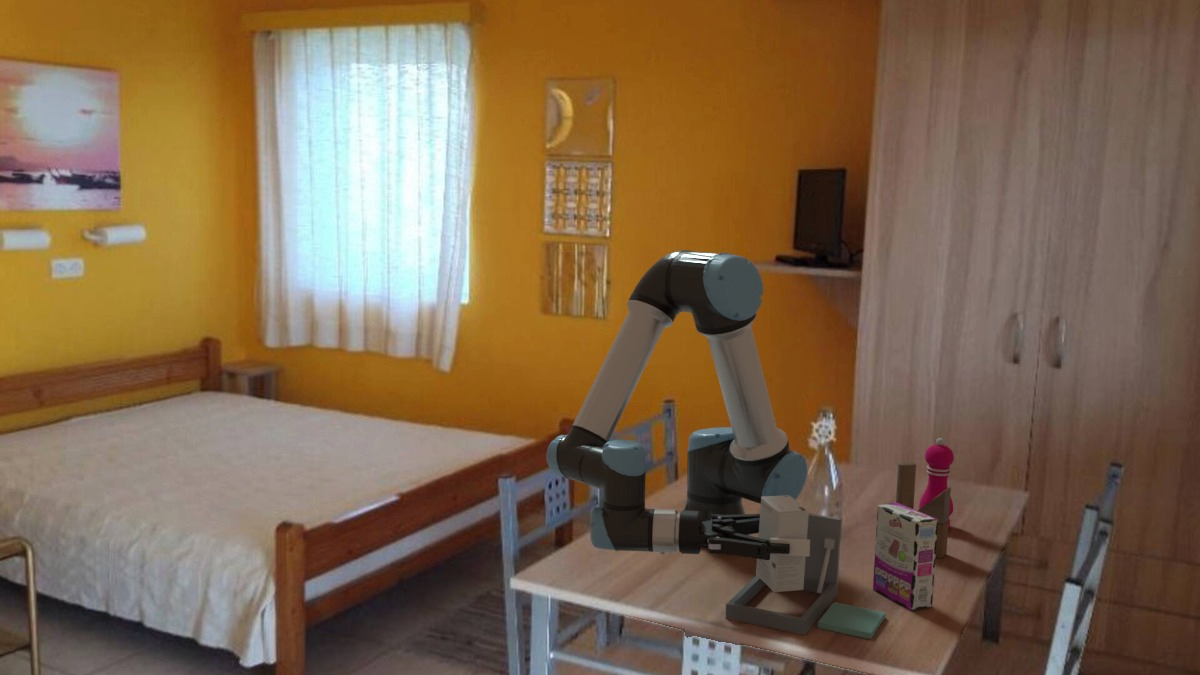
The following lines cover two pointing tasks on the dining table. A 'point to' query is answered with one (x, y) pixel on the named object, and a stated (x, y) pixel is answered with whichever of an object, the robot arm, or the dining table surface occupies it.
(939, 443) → the pepper mill
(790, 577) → the skincare box
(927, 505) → the wooden peg stand
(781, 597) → the dining table surface
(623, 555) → the dining table surface
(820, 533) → the case
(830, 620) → the pad
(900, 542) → the candy bar box
